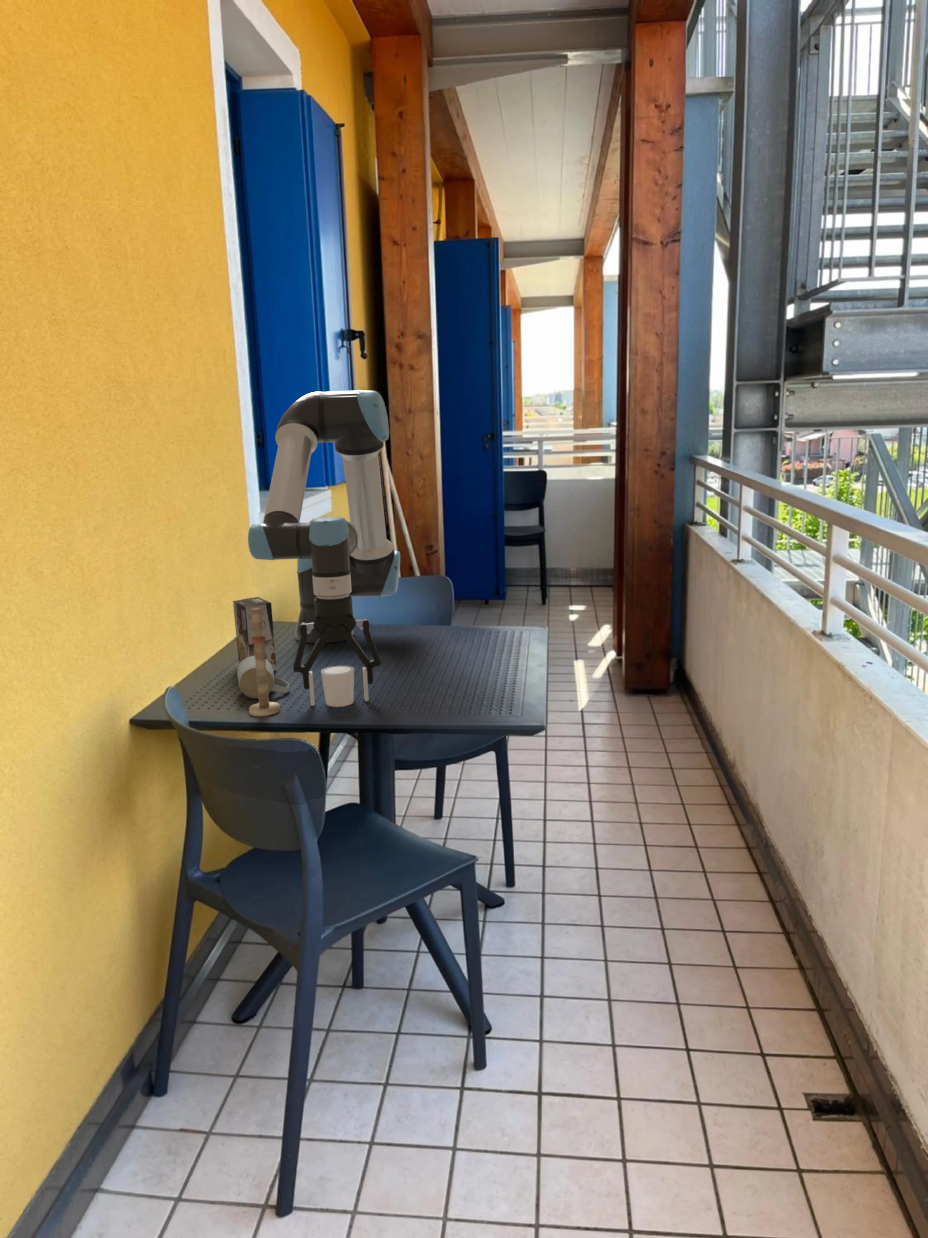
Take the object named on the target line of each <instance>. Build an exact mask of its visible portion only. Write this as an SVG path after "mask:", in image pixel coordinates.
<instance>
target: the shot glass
mask: <svg viewBox="0 0 928 1238" xmlns="http://www.w3.org/2000/svg"><path fill="white" fill-rule="evenodd" d="M320 675H321V680H322V686H323V692H324V699H325V704H326V705H327V706H329V707H334V708H338V707H346V706H349V705H352V704H354V695H355V693H354V692H355V689H354V688H355V667H353V666H351V665H332V666H327V667H325V668H322V669H321V670H320Z"/></svg>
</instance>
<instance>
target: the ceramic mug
mask: <svg viewBox="0 0 928 1238" xmlns="http://www.w3.org/2000/svg"><path fill="white" fill-rule="evenodd" d="M265 660H266V659H265ZM236 671H237V672H236V676H237V682H238V687H239V689H240V691H241V693H242V694H243V695H244V696H245V697H248V698H249V699H253V700H259V698H258V687H257V675H256V664H255V656H250V657H247V658H245V659H244V660H243V661H242V662H241V663H240V664H239V663H238V667H237V670H236ZM266 671H267V683H268V695H269V694H270V693H271V692H274V693H276V694H277V693H278V694H284V695H285V694H288V693H289V690H290V688H291V687H290V686H291V685H290V684H289V683H290V682H288V681H287V680H284V679H283V678H280V677H278V676H275V675H274V674H275V673H274V672H275V671H273V667H272V665H271V664H270V662H269V661H268V660H266Z"/></svg>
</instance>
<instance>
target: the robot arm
mask: <svg viewBox="0 0 928 1238" xmlns="http://www.w3.org/2000/svg"><path fill="white" fill-rule="evenodd" d="M276 427H277V428H276V431H275V442H276V445H277V451H276V455H275V459H274V460H275V461H274V465H273V469H272V471H273V472H272V475H271V481H270V486H269V490H268V496H267V501H266V505H265V510H264V517H263V521H262V522H259V523H254V524H252V525H251V526H250V527H249V529H248V535H247V543H248V549H249V553H250V556H251V557H252V558H254V559H256V560H261V561H262V560H263V561H265V560H266V561H276V560H277V561H278V560H296V561H297V565H296V566H297V567H296V568H297V569H296V574H297V581H298V582H297V584H298V594H299V614H298V617H297V622H296V627H295V629H294V631H295V640H297V641H298V646H297V649H296V654H295V658H294V663H293V672H295V673H299V674H302V678H303V682H302V683H303V688H304V690H309V698H310V706H312V707H314V706H315V691H314V689H315V688H314V678H313V677H314V675H313V674H314V673H313V670H311V669H312V667H313V666H314V663H315V662H316V659H317V657H318V656H319V654H320V652H321V650H322V648H323V646H324V645H325V644H328V643H329V644H330V643H336V642H344V641H346V642H347V643H348V644H349V645H350V647H351V649H352V650H353V651H354V652H355V654H356V655H357V656H358V658H359V659H360V661H361V662H362V663H363V665H364V666H363V667H362V679H363V680H362V681H363V696H364V701H365V702H369V701H370V700H369V699H370V698H369V685H373V683H374V673H373V672H374V671H373V669H374V668H375V667H379V666H381V665H382V661H381V658H380V655H379V653H378V650H377V648H376V645H375V643H374V640H373V637H372V635H371V632H370V621H369V619H368V618H367V617H365V618H363V619H356V618H355V617H354V611H353V610H354V609H353V598H362V597H364V598H366V597H378V598H382V597H390V596H394V595H395V594H396V593H397V591H398V587H399V580H400V579H399V578H400V567H401V552H400V551H399V550H396V549H395V550H394V544H393V543H392V542H391V541H390V540H389V539H387V531H386V530H387V529H386V520H385V509H384V500H383V489H382V479H381V468H380V459H379V453H380V451H382V450H383V449H384V445H385V443H384V442H386V441H388V440H389V437H390V427H389V418H388V413H387V407H386V405H385V401H384V399H383V397H382V395H381V394H380V393H379V392H378V391H376V390H363V389H357V390H337V391H334V390H333V391H314V392H310V393H306V394H305V395H303V396H301V397H300V398H298V399H297V400H296V401H294V402H293V403H292V404H291V405H290V406H289V408H288V409H287V410H286V411H285V412H284V413H283V415H282V416H281V418H280V420H279V422H278V424H277V426H276ZM319 443H334V450H335V452H336V453H337V454H339V456H341V457H342V463H343V471H344V479H345V489H346V495H347V496H346V497H347V504H348V512H349V513H348V514H349V520H350V521H348V520H346V518H345V517H341V516H323V517H322V516H321V517H315V518H312V519H311V520H310V521H309V522H301V516H302V511H303V505H304V500H305V499H304V498H305V494H306V486H307V480H308V474H309V468H310V463H311V456H312V454H313V452H315V451H316V449H317V447H318V444H319ZM356 626H357V627H358V629H359V630H360V631H362V632H363V636H364V639H365V641H366V643H367V645H368V648H369V652H370V654H371V656H372V659H371V660H370V659H369V656H367V654H366V653H365V651H364V650H363V648H362V646H360V644H359V643H358V641H357V640H356V638H355V637H354V634H355V633H354V628H355V627H356ZM307 643H308V644H314V646H313V647H312V649H311V651H310V653H309V655H308V657H307V659H306V661H305V663H304V664H302V660H303V656H304V652H305V649H306V644H307ZM310 670H311V671H310Z"/></svg>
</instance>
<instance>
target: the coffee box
mask: <svg viewBox="0 0 928 1238" xmlns="http://www.w3.org/2000/svg"><path fill="white" fill-rule="evenodd" d="M232 607H233V616H234V625H235V626H234V627H235V636H236V643H237V644H236V647H237V656H238V665H239V664H240V663H241V662H242V661H243V660H244V659H245V658H247V657H250V656H255V653H254V643H252V636H253V630H252V618H251V609H254V608H261V612H262V624H263V635H265V641H266V642H264V648H265V659H266V660H268V661H269V662H270V664H271V665H272V667H273V672H275V671H277V660H276V647H275V637H274V636H275V634H274V622H273V620H274V619H273V610H272V609H273V608H272V602H271V601H268V600H266V599H263V598H261V597H259V596H255V597H254V596H253V597H248V598H244V599H243V598H242V599H238V600H233V601H232Z"/></svg>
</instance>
